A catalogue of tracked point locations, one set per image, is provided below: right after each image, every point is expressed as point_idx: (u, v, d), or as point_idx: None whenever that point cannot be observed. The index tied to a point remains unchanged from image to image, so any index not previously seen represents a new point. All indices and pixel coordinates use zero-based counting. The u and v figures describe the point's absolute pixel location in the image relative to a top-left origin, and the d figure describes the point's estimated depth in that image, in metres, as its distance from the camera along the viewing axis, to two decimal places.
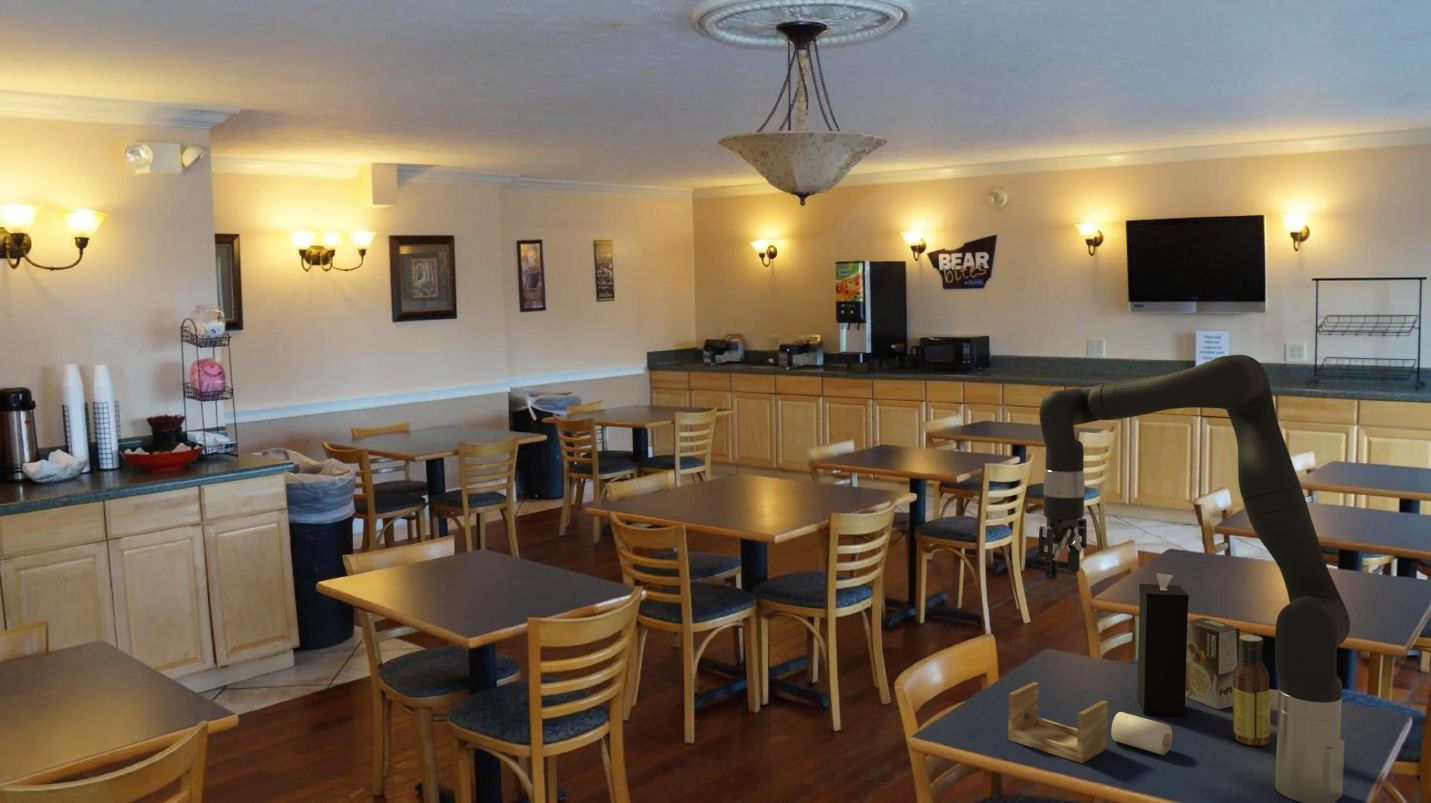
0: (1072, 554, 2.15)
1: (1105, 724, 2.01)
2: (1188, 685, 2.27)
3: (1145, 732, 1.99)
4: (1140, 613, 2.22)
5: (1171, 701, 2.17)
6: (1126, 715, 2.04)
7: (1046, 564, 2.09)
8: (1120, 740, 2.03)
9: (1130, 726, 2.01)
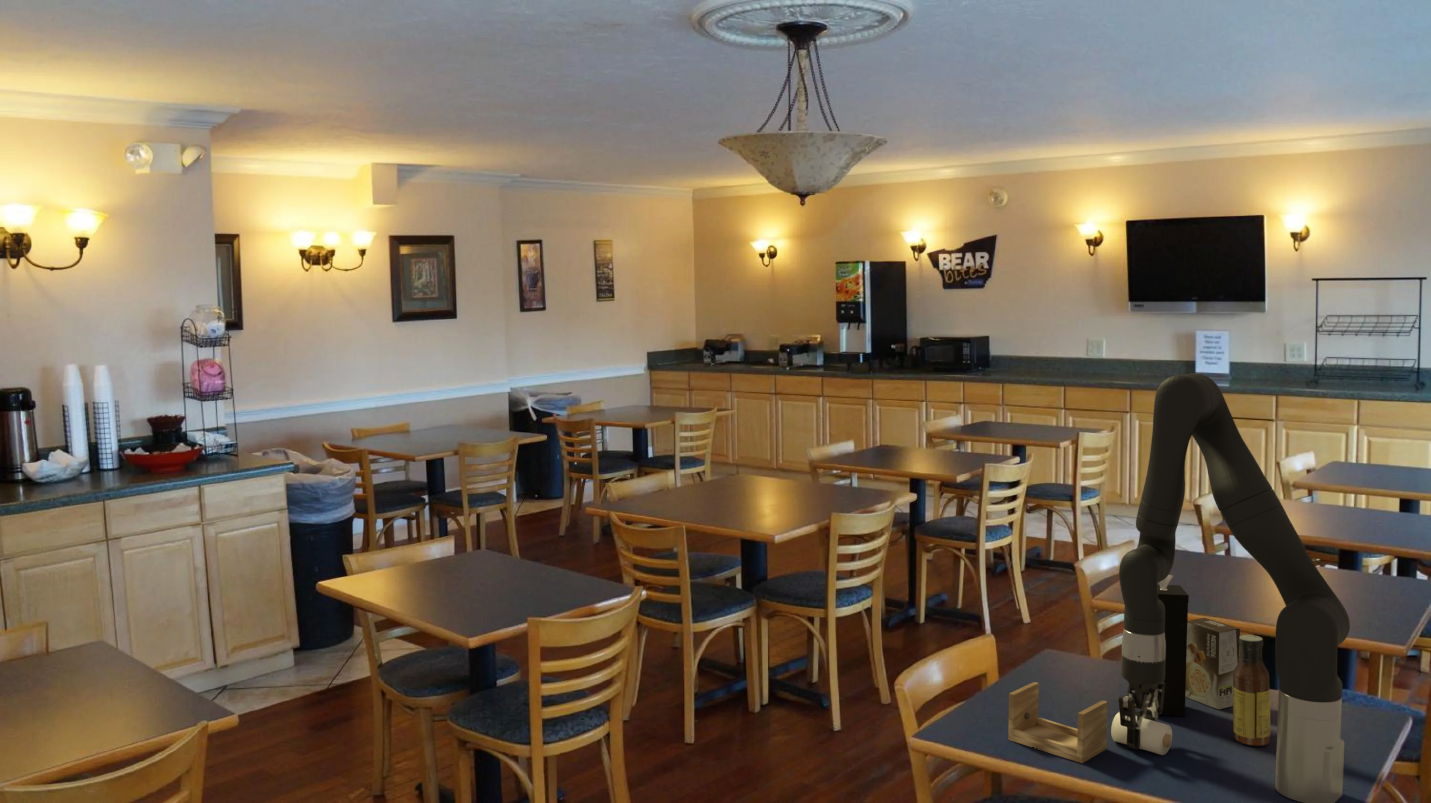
0: None
1: (1105, 724, 2.01)
2: (1188, 685, 2.27)
3: (1145, 732, 1.99)
4: None
5: (1171, 701, 2.17)
6: None
7: (1128, 732, 1.99)
8: (1120, 740, 2.03)
9: None
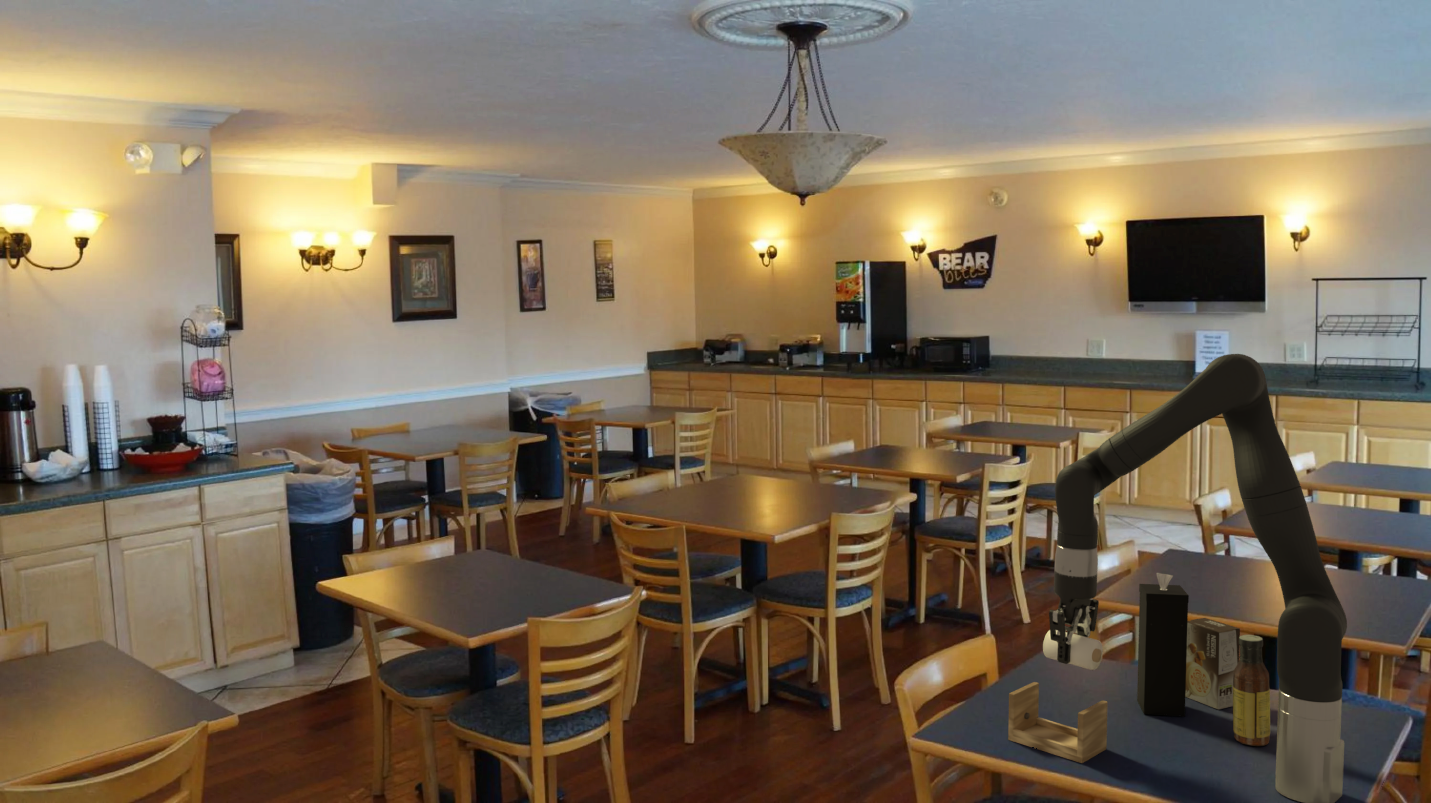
0: None
1: (1105, 724, 2.01)
2: (1188, 685, 2.27)
3: (1075, 647, 1.99)
4: (1140, 613, 2.22)
5: (1171, 701, 2.17)
6: None
7: (1059, 647, 2.00)
8: (1051, 656, 2.03)
9: None
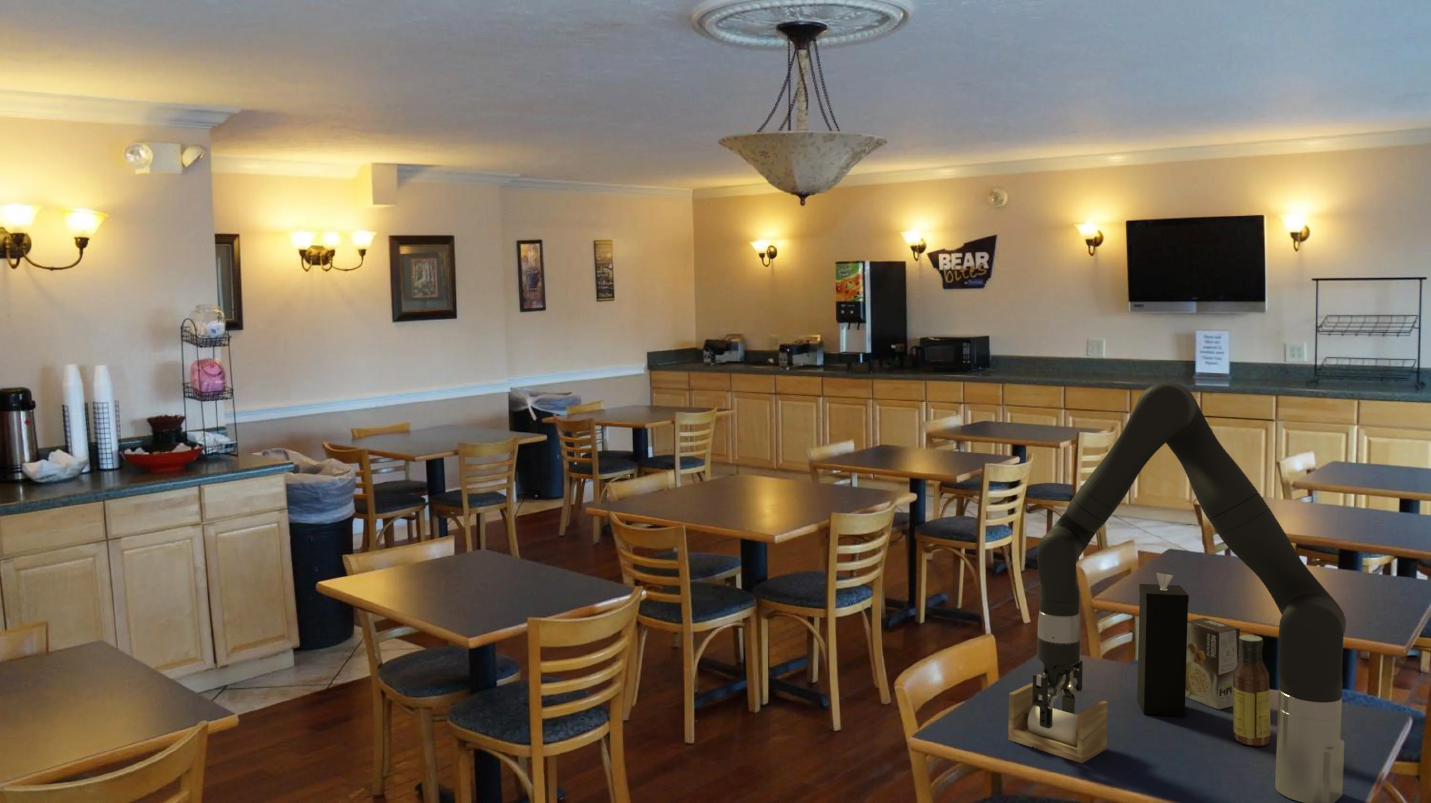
0: (1067, 698, 2.06)
1: (1105, 724, 2.01)
2: (1188, 685, 2.27)
3: (1059, 724, 2.00)
4: (1140, 613, 2.22)
5: (1171, 701, 2.17)
6: None
7: (1041, 712, 2.00)
8: (1036, 732, 2.04)
9: None
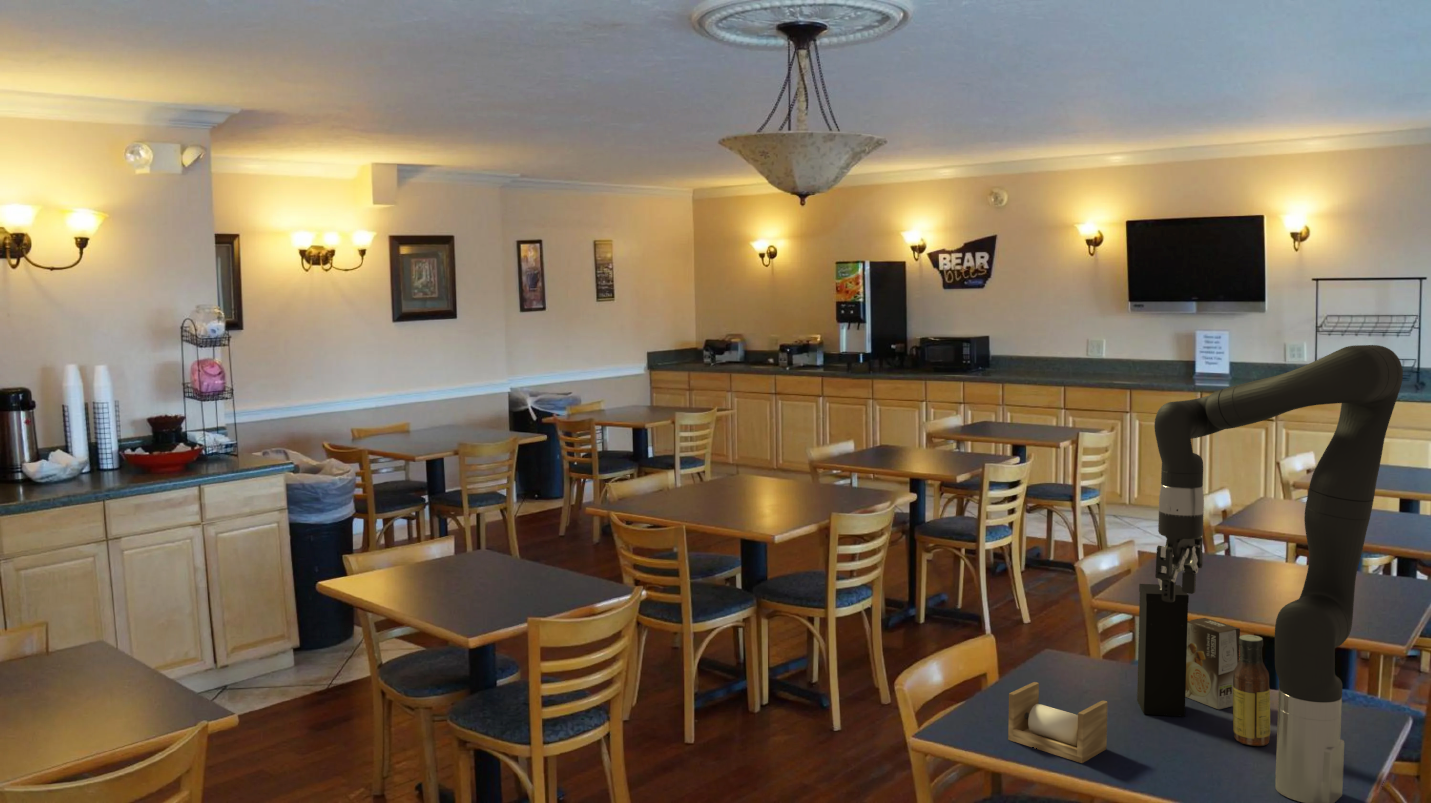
0: (1187, 575, 2.03)
1: (1105, 724, 2.01)
2: (1188, 685, 2.27)
3: (1060, 723, 2.00)
4: (1140, 613, 2.22)
5: (1171, 701, 2.17)
6: (1043, 707, 2.05)
7: (1163, 586, 1.97)
8: (1036, 731, 2.04)
9: (1046, 717, 2.03)
